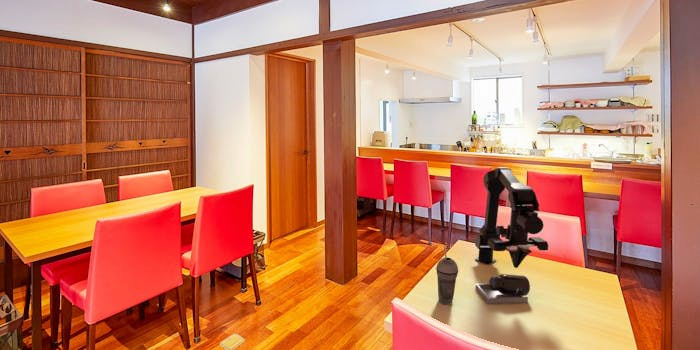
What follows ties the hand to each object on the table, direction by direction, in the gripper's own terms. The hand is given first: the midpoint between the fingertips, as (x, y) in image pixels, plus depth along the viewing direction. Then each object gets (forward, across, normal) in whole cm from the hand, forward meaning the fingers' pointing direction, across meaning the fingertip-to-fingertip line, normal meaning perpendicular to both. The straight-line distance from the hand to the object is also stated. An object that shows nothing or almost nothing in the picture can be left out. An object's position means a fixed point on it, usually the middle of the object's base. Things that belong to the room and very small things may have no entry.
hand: (515, 267), depth 122 cm
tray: (+11, +4, 0) cm, 11 cm away
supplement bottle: (+7, -4, 0) cm, 8 cm away
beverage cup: (+11, +25, +2) cm, 27 cm away
